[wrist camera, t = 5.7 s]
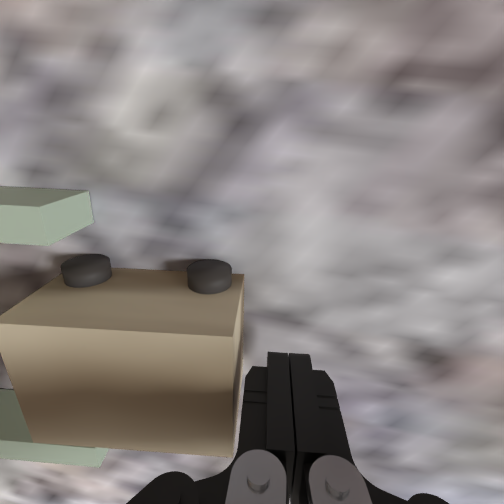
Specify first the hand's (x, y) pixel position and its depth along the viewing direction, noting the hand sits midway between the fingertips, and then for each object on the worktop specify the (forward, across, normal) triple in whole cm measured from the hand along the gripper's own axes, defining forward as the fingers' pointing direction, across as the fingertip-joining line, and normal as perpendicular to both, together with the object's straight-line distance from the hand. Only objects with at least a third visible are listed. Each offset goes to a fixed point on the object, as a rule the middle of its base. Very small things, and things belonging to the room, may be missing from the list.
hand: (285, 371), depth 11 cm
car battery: (+2, +5, 0) cm, 6 cm away
